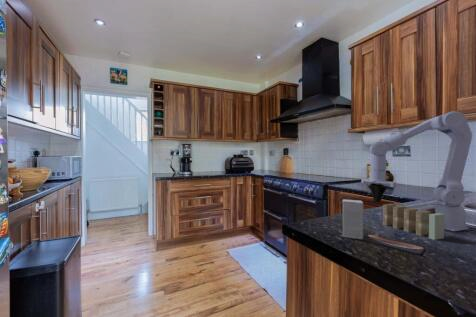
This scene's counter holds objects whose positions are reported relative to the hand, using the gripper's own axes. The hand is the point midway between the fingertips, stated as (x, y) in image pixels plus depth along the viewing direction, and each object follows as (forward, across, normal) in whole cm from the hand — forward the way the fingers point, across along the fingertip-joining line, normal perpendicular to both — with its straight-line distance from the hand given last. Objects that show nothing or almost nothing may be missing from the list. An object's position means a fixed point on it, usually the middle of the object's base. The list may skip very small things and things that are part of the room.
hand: (377, 202), depth 95 cm
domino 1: (+8, +6, -1) cm, 10 cm away
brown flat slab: (+8, +21, -21) cm, 31 cm away
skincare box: (+8, +12, -27) cm, 31 cm away
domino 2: (+8, +10, -1) cm, 13 cm away
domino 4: (+8, +18, -1) cm, 20 cm away
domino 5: (+8, +22, -1) cm, 23 cm away
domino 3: (+8, +14, -1) cm, 16 cm away
